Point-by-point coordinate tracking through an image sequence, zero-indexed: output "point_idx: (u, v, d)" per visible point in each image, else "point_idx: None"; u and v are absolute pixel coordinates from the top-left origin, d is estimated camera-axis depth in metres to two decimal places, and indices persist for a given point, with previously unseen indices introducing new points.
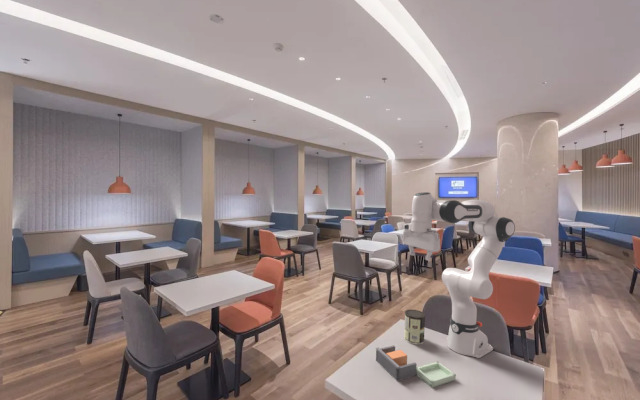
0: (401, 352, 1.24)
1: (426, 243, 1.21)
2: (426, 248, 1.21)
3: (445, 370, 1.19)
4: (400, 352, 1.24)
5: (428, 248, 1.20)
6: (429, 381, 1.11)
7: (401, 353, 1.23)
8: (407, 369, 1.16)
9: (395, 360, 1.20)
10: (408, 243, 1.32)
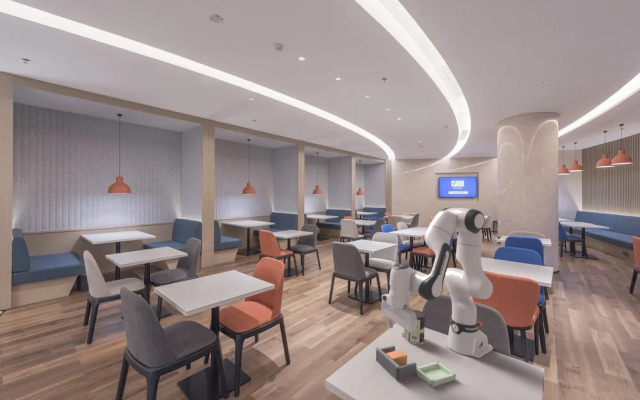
0: (401, 352, 1.24)
1: (403, 320, 1.16)
2: (403, 326, 1.16)
3: (445, 370, 1.19)
4: (400, 352, 1.24)
5: (405, 327, 1.15)
6: (429, 381, 1.11)
7: (401, 353, 1.23)
8: (407, 369, 1.16)
9: (395, 360, 1.20)
10: (386, 314, 1.27)
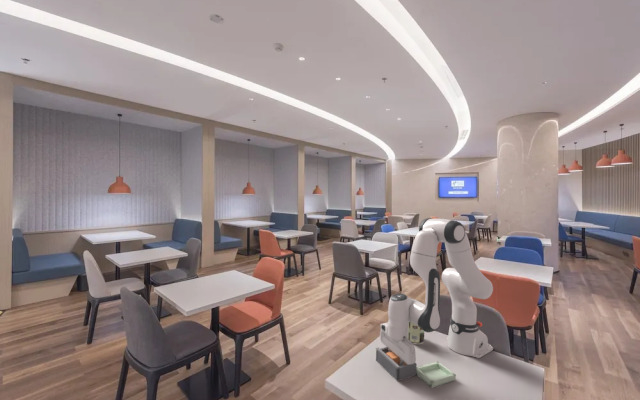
0: None
1: (401, 352, 1.17)
2: (402, 358, 1.16)
3: (445, 370, 1.19)
4: None
5: (403, 359, 1.16)
6: (429, 381, 1.11)
7: None
8: (407, 369, 1.16)
9: (395, 360, 1.20)
10: (385, 344, 1.27)
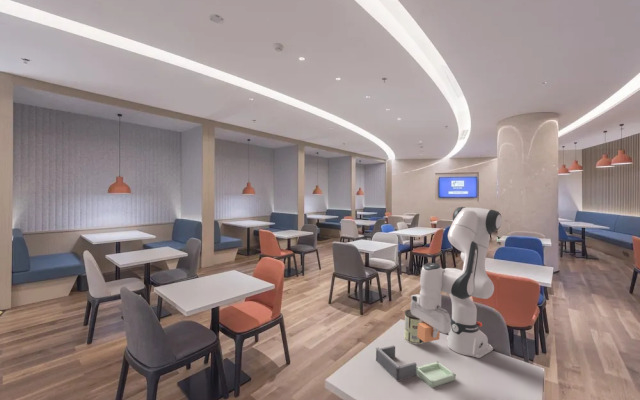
0: None
1: (435, 321, 1.14)
2: (436, 327, 1.13)
3: (445, 370, 1.19)
4: None
5: (438, 328, 1.12)
6: (429, 381, 1.11)
7: None
8: (407, 369, 1.16)
9: (428, 330, 1.17)
10: (416, 315, 1.24)
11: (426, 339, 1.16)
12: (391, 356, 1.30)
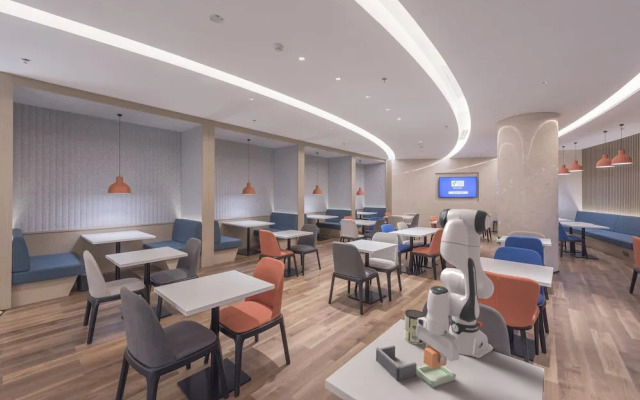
0: None
1: (443, 348, 1.11)
2: (444, 354, 1.10)
3: (445, 370, 1.19)
4: None
5: (446, 355, 1.10)
6: (429, 381, 1.11)
7: None
8: (407, 369, 1.16)
9: (435, 355, 1.14)
10: (422, 339, 1.21)
11: (433, 365, 1.13)
12: (391, 356, 1.30)
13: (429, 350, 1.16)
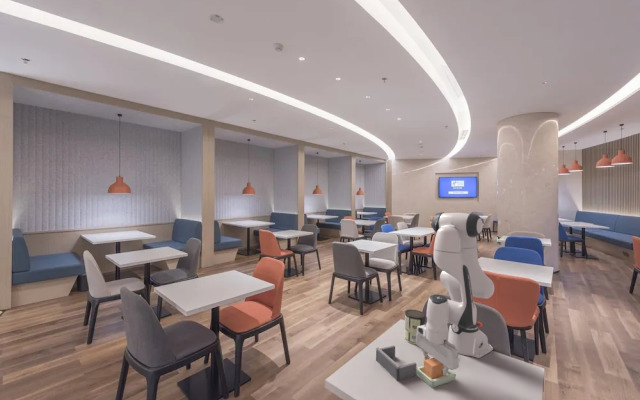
0: None
1: (443, 357, 1.11)
2: (444, 363, 1.11)
3: None
4: None
5: (445, 364, 1.10)
6: (429, 381, 1.11)
7: None
8: (407, 369, 1.16)
9: (435, 367, 1.14)
10: (422, 347, 1.22)
11: (432, 378, 1.14)
12: (391, 356, 1.30)
13: (429, 362, 1.16)
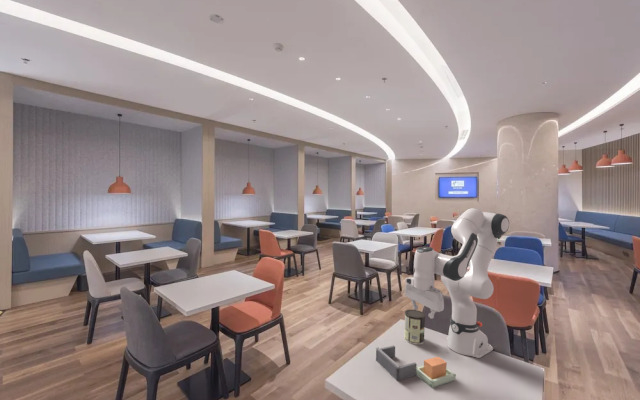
0: (439, 359, 1.18)
1: (429, 301, 1.19)
2: (430, 307, 1.19)
3: None
4: (438, 359, 1.18)
5: (432, 307, 1.18)
6: (429, 381, 1.11)
7: (439, 360, 1.18)
8: (407, 369, 1.16)
9: (435, 367, 1.14)
10: (410, 297, 1.29)
11: (432, 378, 1.14)
12: (391, 356, 1.30)
13: (429, 362, 1.16)
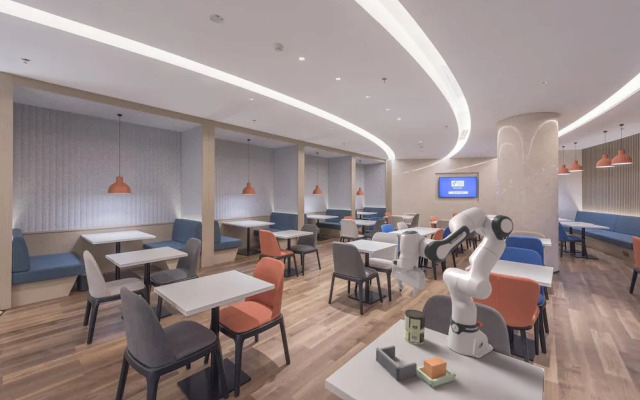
0: (439, 359, 1.18)
1: (412, 280, 1.29)
2: (413, 285, 1.29)
3: None
4: (438, 359, 1.18)
5: (414, 285, 1.28)
6: (429, 381, 1.11)
7: (439, 360, 1.18)
8: (407, 369, 1.16)
9: (435, 367, 1.14)
10: (397, 277, 1.40)
11: (432, 378, 1.14)
12: (391, 356, 1.30)
13: (429, 362, 1.16)
